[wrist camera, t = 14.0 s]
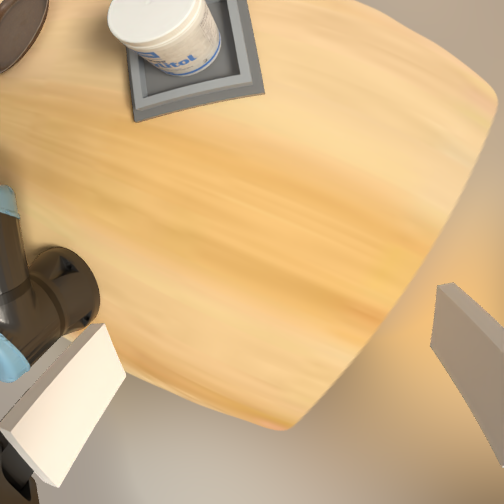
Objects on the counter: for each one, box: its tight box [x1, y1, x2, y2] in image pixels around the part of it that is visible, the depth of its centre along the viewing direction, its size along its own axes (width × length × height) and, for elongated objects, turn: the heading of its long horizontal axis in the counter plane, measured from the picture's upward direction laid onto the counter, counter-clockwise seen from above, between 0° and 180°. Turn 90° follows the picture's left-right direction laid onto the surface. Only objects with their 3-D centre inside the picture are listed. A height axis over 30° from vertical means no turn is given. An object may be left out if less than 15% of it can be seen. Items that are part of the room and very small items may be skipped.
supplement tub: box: [107, 0, 221, 77], centre depth 27 cm, size 10×10×15 cm
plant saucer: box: [0, 0, 49, 73], centre depth 32 cm, size 21×21×3 cm
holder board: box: [126, 0, 265, 123], centre depth 34 cm, size 18×18×3 cm
